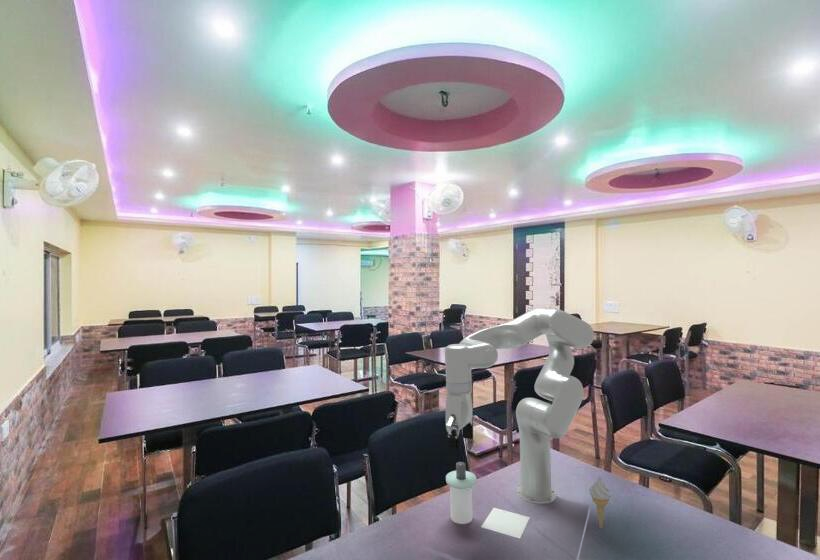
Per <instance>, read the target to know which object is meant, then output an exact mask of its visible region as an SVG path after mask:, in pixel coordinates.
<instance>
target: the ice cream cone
mask: <svg viewBox="0 0 820 560" xmlns="http://www.w3.org/2000/svg"><path fill="white" fill-rule="evenodd" d="M589 495H590V496H591V498H592V499H591V501H593V503H595V505H596V512H597V519H598V526H599V527H598V528H599V529H600V530H602V529H603V523H604V515H605V506H606V505H608V504H609V500H610V499H611V496H612V493H610V490H609V488H608V487H607V486H606V484H605V483H604V481H603V480H602V478H601V476H600V475H599V476H598V477H597V480H596V481H595V482H593V484H592V486H591V487H590V488H589Z"/></svg>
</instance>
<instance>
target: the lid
mask: <svg viewBox="0 0 820 560" xmlns="http://www.w3.org/2000/svg"><path fill="white" fill-rule="evenodd" d="M466 465H467V464H466V462H464V461H458V462H456V463H455V470H452V471H450V472H448V473H447V474H446V475H445V482H446V484H447V485H448V486H449V487H450V486H451V487H454V488H458V489H467V488H471V487H472V488H473V487H475V486H476V484H477V481H478V480H477V476H476V475H475V473H473V472H471V471H468V470H466V467H467V466H466Z"/></svg>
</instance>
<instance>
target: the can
mask: <svg viewBox="0 0 820 560" xmlns="http://www.w3.org/2000/svg"><path fill="white" fill-rule="evenodd" d="M449 504H450V506H449V507H450V519H451V521H452V522H454V523H455V524H459V525H460V524H461V525H467V524H469V523H471V522H472V521H473V517H474V516H473V515H474V514H473V487H471V488H467V489H458V488H454V487H451V486H449Z"/></svg>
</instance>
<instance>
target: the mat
mask: <svg viewBox="0 0 820 560" xmlns="http://www.w3.org/2000/svg"><path fill="white" fill-rule="evenodd" d="M529 521H530V516H526V515H522V514H520V513H516V512H511V511H507V510H504V509H500V508H497V507H493V508H492V509H491V511H490V512H489V514H488V515H487V517H486V519H485V520H484V522H483V523H482V525H481V526H480V528H483V529H485V530H486V529H487V530H490V531H493V532H495V533H499V534H503V535H506V536H508V537H512V538H516V539H519V540H520V539H521V538H522V535H523V533H524V531H525V529H526V527H527V525H528V522H529Z"/></svg>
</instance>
